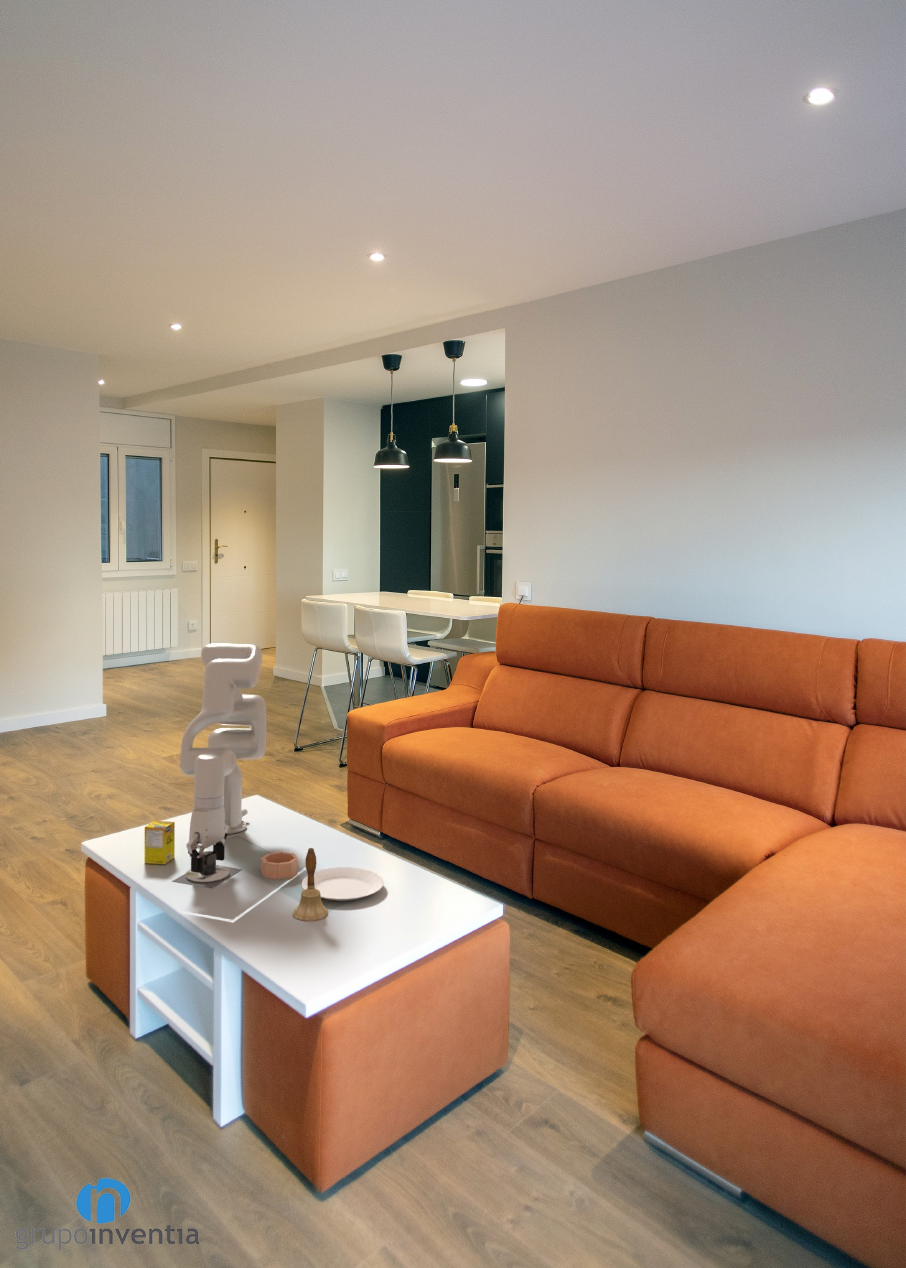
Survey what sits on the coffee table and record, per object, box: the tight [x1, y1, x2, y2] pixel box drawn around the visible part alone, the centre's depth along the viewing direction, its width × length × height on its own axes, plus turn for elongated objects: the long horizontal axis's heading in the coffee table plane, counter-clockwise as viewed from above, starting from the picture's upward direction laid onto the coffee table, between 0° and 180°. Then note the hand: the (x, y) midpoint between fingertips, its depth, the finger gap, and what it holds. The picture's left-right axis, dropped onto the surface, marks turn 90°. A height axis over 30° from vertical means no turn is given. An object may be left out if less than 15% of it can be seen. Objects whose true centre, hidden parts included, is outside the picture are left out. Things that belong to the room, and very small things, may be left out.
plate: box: [301, 866, 385, 902], centre depth 206 cm, size 21×21×2 cm
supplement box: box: [144, 820, 176, 866], centre depth 219 cm, size 6×6×11 cm
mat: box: [171, 866, 243, 889], centre depth 211 cm, size 14×12×1 cm
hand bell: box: [292, 847, 329, 922], centre depth 190 cm, size 8×8×16 cm
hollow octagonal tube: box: [260, 851, 299, 880], centre depth 215 cm, size 9×9×4 cm
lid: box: [185, 850, 230, 883], centre depth 211 cm, size 11×11×6 cm
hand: (207, 865), depth 210 cm, fingers open, 9 cm apart
